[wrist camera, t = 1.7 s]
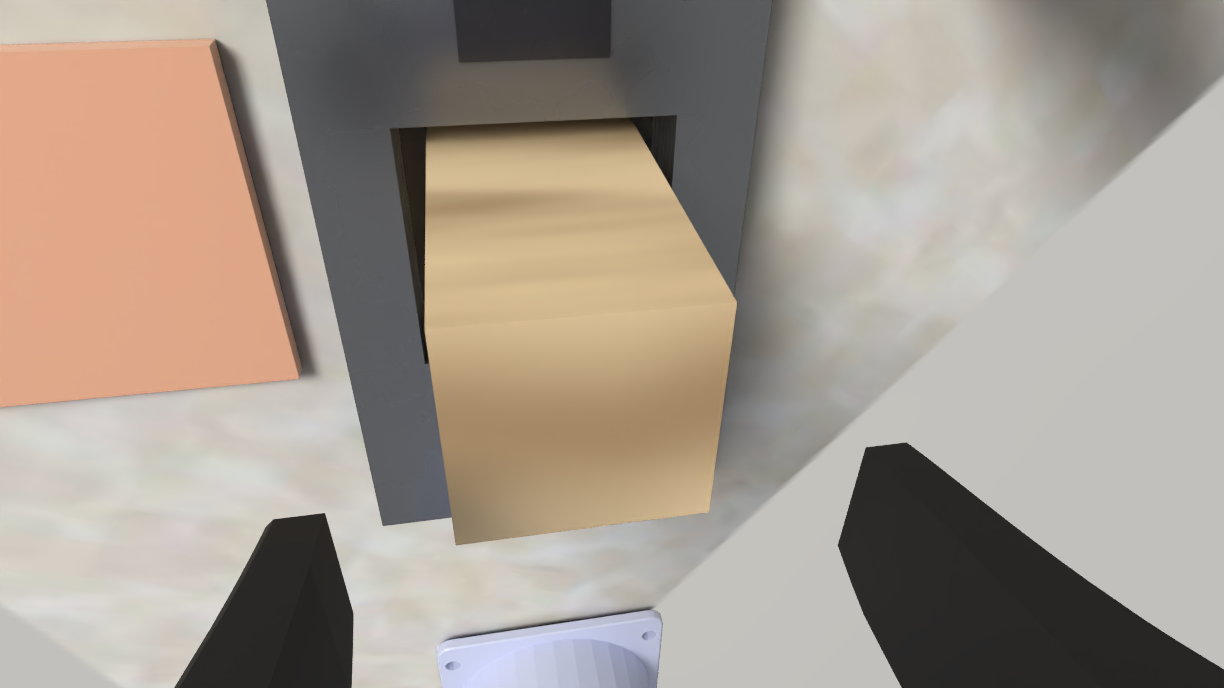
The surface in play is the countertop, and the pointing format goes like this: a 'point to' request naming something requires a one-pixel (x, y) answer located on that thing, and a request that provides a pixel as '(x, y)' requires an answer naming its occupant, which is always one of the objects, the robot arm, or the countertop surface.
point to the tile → (130, 227)
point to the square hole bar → (489, 94)
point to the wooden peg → (568, 330)
